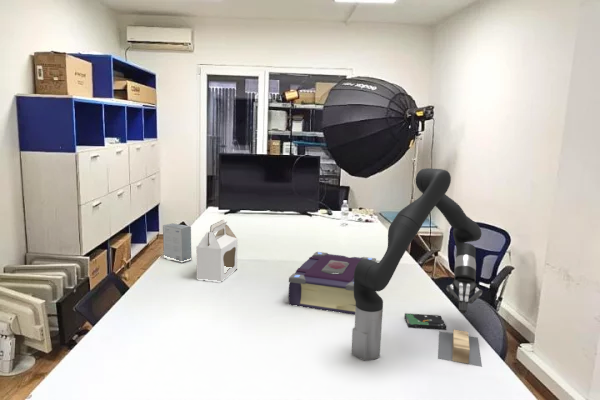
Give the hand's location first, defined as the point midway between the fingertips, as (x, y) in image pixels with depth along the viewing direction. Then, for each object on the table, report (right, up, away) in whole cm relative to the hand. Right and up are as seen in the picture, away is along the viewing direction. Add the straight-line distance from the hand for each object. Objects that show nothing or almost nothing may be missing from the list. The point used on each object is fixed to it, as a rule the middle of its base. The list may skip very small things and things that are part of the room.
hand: (463, 312), depth 158 cm
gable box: (-101, +1, +72) cm, 124 cm away
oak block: (0, -10, +3) cm, 10 cm away
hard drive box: (-129, +6, +96) cm, 161 cm away
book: (-42, -4, +52) cm, 67 cm away
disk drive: (-8, -11, +20) cm, 24 cm away
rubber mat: (-1, -13, 0) cm, 13 cm away
